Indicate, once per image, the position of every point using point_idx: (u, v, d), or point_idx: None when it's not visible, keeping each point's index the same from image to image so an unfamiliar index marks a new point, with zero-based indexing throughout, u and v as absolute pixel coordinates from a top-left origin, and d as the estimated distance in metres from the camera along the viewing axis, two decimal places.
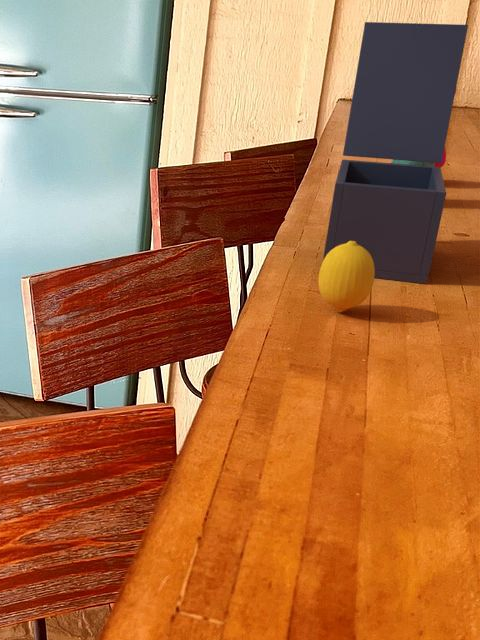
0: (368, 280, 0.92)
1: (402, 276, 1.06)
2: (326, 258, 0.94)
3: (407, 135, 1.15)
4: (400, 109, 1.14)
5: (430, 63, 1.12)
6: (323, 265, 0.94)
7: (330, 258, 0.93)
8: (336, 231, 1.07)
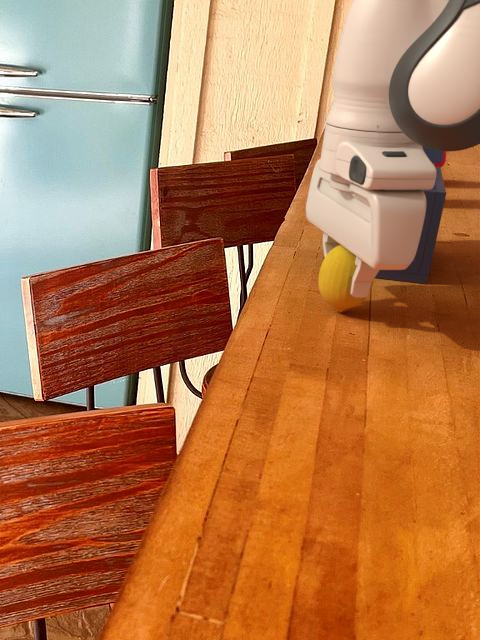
0: None
1: (402, 276, 1.06)
2: (326, 258, 0.94)
3: None
4: None
5: None
6: (323, 265, 0.94)
7: (330, 258, 0.93)
8: None
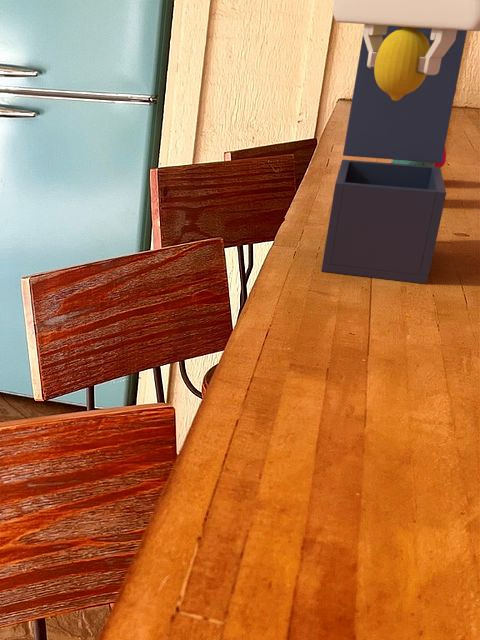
0: None
1: (402, 276, 1.06)
2: (387, 44, 0.95)
3: (407, 135, 1.15)
4: (400, 109, 1.14)
5: None
6: (385, 51, 0.95)
7: (394, 42, 0.95)
8: (336, 231, 1.07)
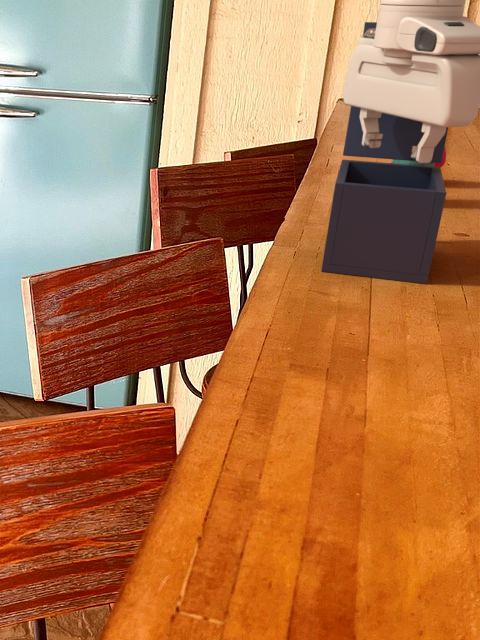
0: None
1: (402, 276, 1.06)
2: None
3: (407, 135, 1.15)
4: None
5: None
6: None
7: None
8: (336, 231, 1.07)
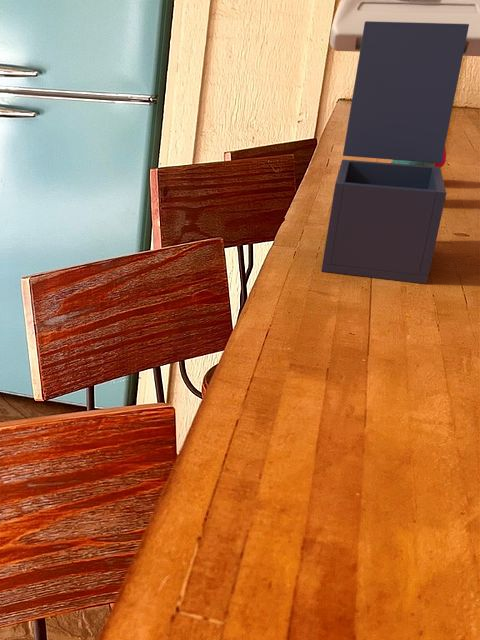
0: None
1: (402, 276, 1.06)
2: None
3: (407, 135, 1.14)
4: (400, 110, 1.14)
5: (430, 63, 1.11)
6: None
7: None
8: (336, 231, 1.07)
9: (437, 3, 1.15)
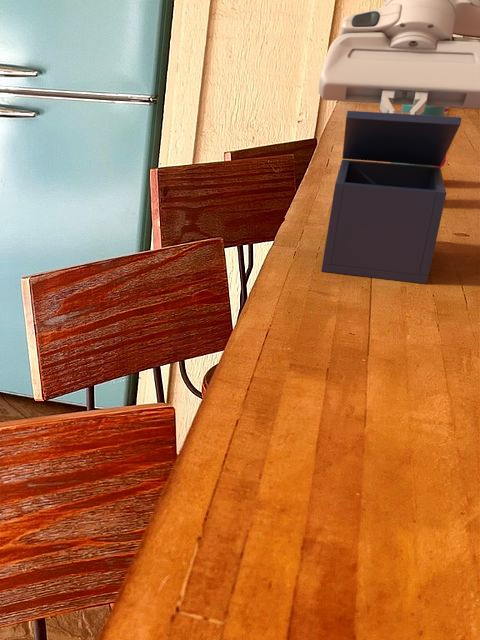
0: None
1: (402, 276, 1.06)
2: None
3: (404, 156, 1.13)
4: (394, 148, 1.10)
5: (421, 135, 1.04)
6: None
7: None
8: (336, 231, 1.07)
9: (432, 51, 1.07)
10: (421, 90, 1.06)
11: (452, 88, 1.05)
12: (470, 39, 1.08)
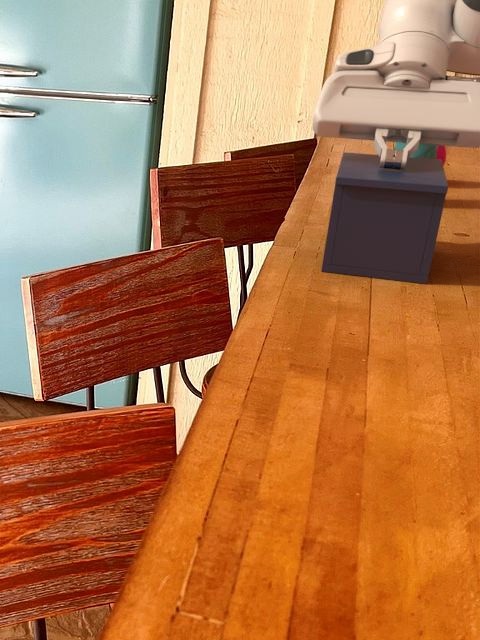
0: None
1: (402, 276, 1.06)
2: None
3: None
4: None
5: None
6: None
7: None
8: (336, 231, 1.07)
9: (426, 90, 1.08)
10: (414, 129, 1.06)
11: (445, 127, 1.05)
12: (463, 78, 1.08)
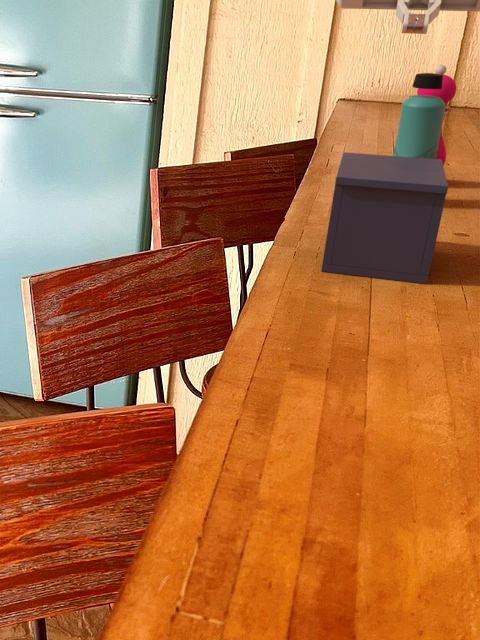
0: None
1: (402, 276, 1.06)
2: None
3: None
4: None
5: None
6: None
7: None
8: (336, 231, 1.07)
9: None
10: None
11: None
12: None
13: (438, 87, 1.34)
